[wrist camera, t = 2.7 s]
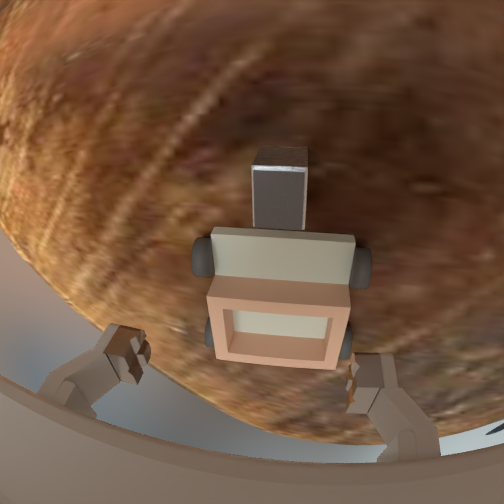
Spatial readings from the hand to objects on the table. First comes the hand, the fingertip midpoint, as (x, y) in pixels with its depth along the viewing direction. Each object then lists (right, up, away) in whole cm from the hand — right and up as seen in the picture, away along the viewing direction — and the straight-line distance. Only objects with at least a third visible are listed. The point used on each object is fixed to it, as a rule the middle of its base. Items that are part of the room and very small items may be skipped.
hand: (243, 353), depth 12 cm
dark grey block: (+3, +11, +17) cm, 20 cm away
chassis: (+4, -1, +24) cm, 24 cm away
